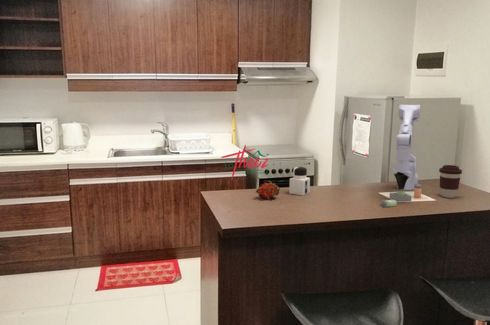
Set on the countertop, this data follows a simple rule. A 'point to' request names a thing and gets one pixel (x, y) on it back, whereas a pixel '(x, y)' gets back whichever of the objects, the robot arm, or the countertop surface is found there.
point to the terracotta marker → (417, 190)
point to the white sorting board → (406, 197)
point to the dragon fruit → (268, 190)
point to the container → (299, 182)
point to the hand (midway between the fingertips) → (400, 188)
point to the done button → (400, 193)
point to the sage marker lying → (388, 203)
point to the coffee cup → (449, 180)
